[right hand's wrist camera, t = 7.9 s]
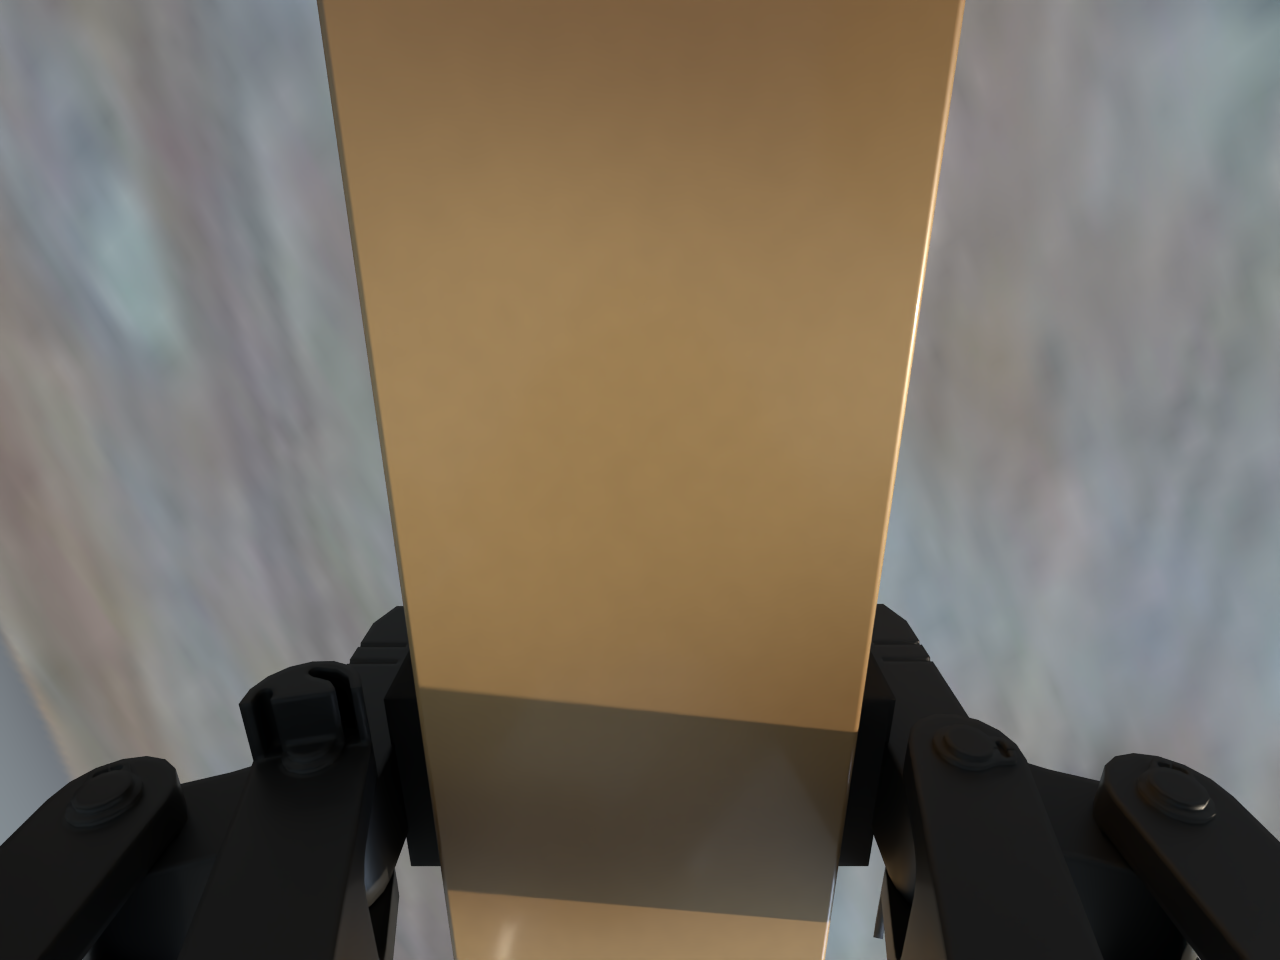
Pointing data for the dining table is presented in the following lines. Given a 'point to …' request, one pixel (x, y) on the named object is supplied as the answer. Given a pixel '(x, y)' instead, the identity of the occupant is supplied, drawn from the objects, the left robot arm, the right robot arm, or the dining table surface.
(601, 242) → the bar
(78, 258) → the dining table surface
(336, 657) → the dining table surface
